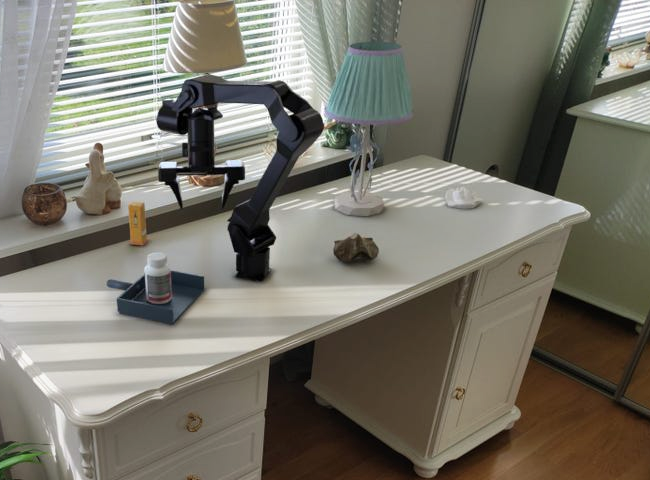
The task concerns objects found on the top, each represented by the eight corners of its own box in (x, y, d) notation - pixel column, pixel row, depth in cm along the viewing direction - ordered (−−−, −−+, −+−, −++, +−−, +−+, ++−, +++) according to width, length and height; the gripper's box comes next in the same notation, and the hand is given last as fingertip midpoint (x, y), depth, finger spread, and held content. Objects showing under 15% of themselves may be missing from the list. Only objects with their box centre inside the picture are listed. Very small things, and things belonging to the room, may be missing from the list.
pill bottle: (176, 300, 149) (175, 257, 144) (154, 307, 147) (152, 264, 141) (163, 290, 153) (161, 248, 147) (141, 297, 150) (138, 254, 145)
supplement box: (148, 240, 176) (145, 201, 171) (142, 246, 173) (140, 206, 168) (135, 239, 177) (132, 200, 172) (130, 244, 174) (127, 205, 169)
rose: (441, 180, 194) (478, 180, 194) (439, 196, 196) (474, 195, 196) (452, 193, 186) (490, 193, 185) (449, 210, 188) (487, 209, 188)
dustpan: (204, 290, 153) (204, 276, 151) (172, 324, 141) (171, 309, 139) (125, 275, 160) (124, 261, 158) (88, 307, 148) (86, 292, 146)
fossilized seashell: (377, 241, 166) (334, 245, 168) (377, 224, 160) (331, 229, 163) (380, 268, 163) (335, 272, 165) (379, 251, 157) (333, 256, 159)
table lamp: (339, 188, 204) (352, 36, 182) (412, 202, 193) (436, 42, 171) (303, 212, 189) (312, 49, 168) (380, 229, 179) (401, 58, 157)
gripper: (243, 127, 159) (242, 195, 167) (159, 129, 159) (162, 196, 168) (245, 141, 149) (244, 212, 158) (156, 143, 150) (160, 214, 158)
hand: (202, 208), depth 161 cm, fingers open, 9 cm apart
